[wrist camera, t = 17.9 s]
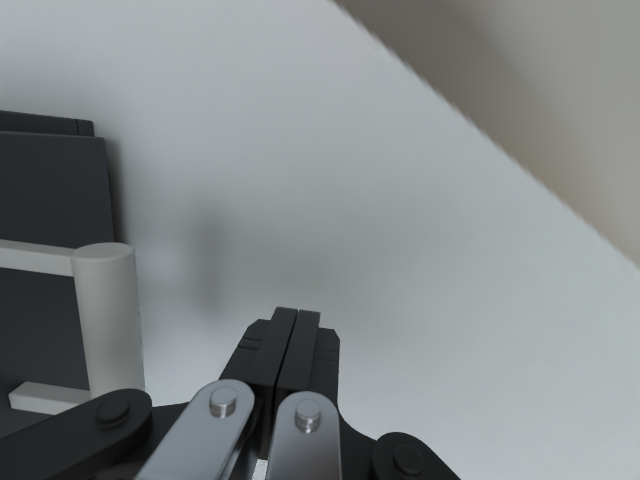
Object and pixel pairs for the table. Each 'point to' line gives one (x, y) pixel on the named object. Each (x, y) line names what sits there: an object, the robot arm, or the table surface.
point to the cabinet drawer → (61, 280)
